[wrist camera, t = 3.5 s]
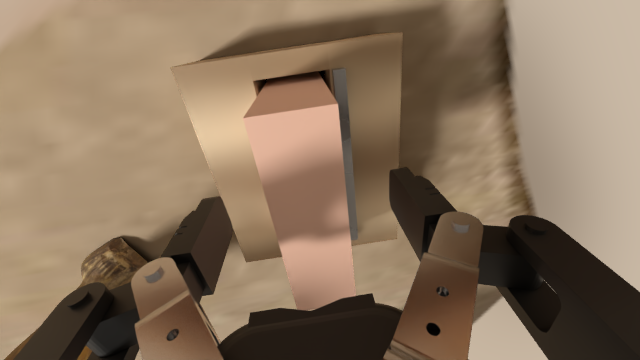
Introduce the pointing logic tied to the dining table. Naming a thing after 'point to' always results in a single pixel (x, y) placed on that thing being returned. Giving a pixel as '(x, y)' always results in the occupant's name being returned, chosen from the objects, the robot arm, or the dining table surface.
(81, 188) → the dining table surface
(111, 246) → the sculpture
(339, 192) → the pink square prism
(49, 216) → the dining table surface
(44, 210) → the dining table surface
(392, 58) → the dispenser
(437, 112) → the dining table surface
